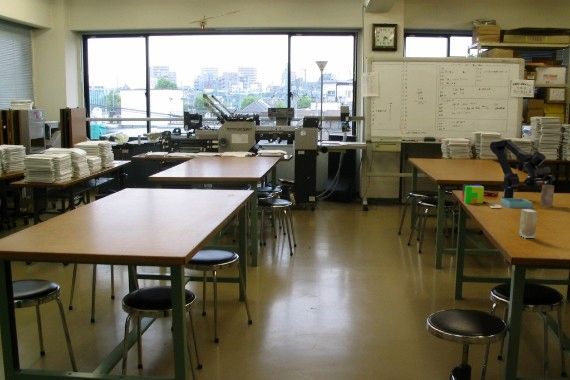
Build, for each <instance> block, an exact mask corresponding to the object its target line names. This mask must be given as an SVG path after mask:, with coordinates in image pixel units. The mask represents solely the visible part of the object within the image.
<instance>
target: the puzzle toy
mask: <svg viewBox="0 0 570 380" xmlns="http://www.w3.org/2000/svg"><path fill="white" fill-rule="evenodd" d="M461 191H462V193H461V195H462V196H461V201H462V202H463V203H464V204H473V205H474V204H484V193H485V192H484V191H485V186H482V185H481V184H465V183H464V184H462V190H461Z"/></svg>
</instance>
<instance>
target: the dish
mask: <svg viewBox="0 0 570 380" xmlns="http://www.w3.org/2000/svg"><path fill="white" fill-rule="evenodd" d="M500 200H501V201H500V203H501V204H503V205H505V206H507V207H509V208H532V207H533V202H532V201H530V200H527V199H525V198H516V197H514V198H502V197H501V198H500Z"/></svg>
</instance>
